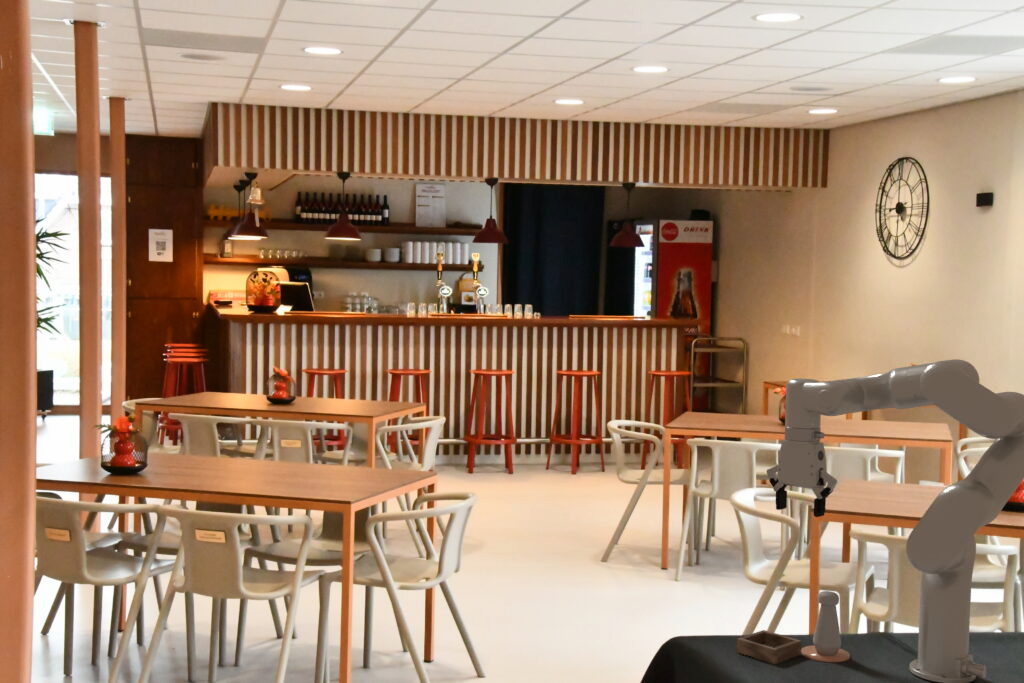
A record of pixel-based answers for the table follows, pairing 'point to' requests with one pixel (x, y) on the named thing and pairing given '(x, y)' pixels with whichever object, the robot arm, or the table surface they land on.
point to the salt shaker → (827, 625)
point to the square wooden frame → (758, 650)
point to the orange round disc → (812, 654)
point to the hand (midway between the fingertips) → (799, 512)
